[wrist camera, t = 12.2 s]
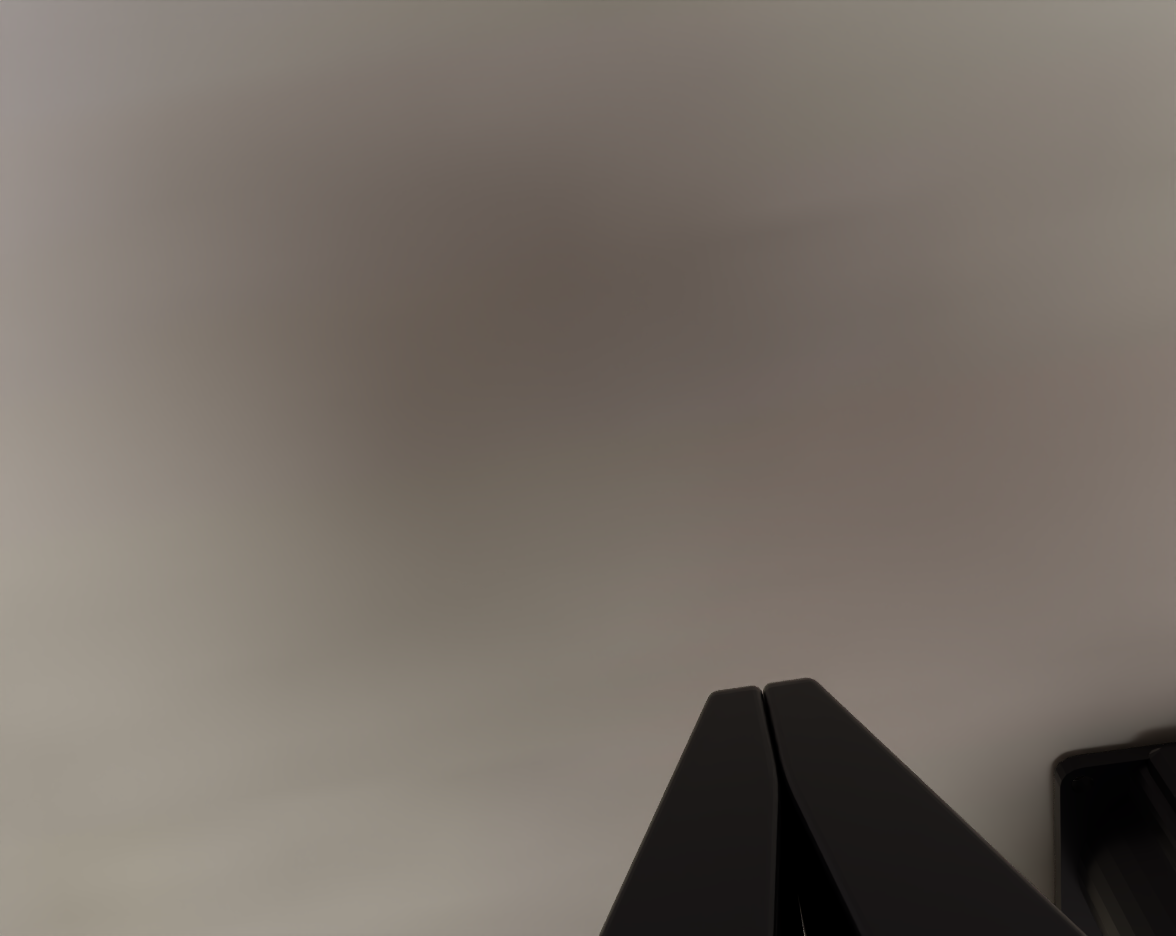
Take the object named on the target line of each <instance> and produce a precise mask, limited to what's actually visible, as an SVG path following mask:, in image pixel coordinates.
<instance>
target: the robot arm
mask: <svg viewBox="0 0 1176 936" xmlns="http://www.w3.org/2000/svg"><path fill="white" fill-rule="evenodd" d="M1080 776H1084V777H1083V778H1082V779H1080V780H1077V781H1073V780H1074V779H1076V778H1077V777H1080ZM1054 844H1055V905H1054V904H1053V903H1052V902H1051V901H1050V900H1049V899H1048V898H1046V897H1045V896H1044V895H1043V894H1042V893H1041V892H1040V891H1039V890H1038V889H1037V888H1036V887H1035V886H1034V885H1033V884H1032V883H1031V882H1029V881H1028V880H1027V879H1026V878H1025V877H1024V876H1023V875H1022V874H1021V873H1020V872H1019V871H1018V870H1017V869H1016V868H1015V867H1014V866H1012V865H1011V864H1010V863H1009V862H1008V861H1007V860H1006V859H1005V858H1004V857H1003V856H1002V855H1001V854H1000V853H999V852H998V851H997V850H995V849H994V848H993V847H992V846H991V845H990V844H989V843H988V842H987V841H986V840H985V839H984V838H983V837H982V836H981V835H979V834H978V833H977V832H976V831H975V830H974V829H973V828H972V827H971V826H970V825H969V824H968V823H967V822H966V821H965V820H964V819H962V818H961V817H960V816H959V815H958V814H957V813H956V812H955V811H954V810H953V809H952V808H951V807H950V806H949V805H948V804H947V803H945V802H944V801H943V800H942V799H941V798H940V797H939V796H938V795H937V794H936V793H935V792H934V791H933V790H932V789H931V788H930V787H928V786H927V785H926V784H925V783H924V782H923V781H922V780H921V779H920V778H919V777H918V776H917V775H916V774H915V773H914V772H913V771H911V770H910V769H909V768H908V767H907V766H906V765H905V764H904V763H903V762H902V761H901V760H900V759H899V758H898V757H897V756H896V755H894V754H893V753H892V752H891V751H890V750H889V749H888V748H887V747H886V746H885V745H884V744H883V743H882V742H881V741H880V740H879V739H877V738H876V737H875V736H874V735H873V734H872V733H871V732H870V731H869V730H868V729H867V728H866V727H865V726H864V725H863V724H862V723H860V722H859V721H858V720H857V719H856V718H855V717H854V716H853V715H852V714H851V713H850V712H849V711H848V710H847V709H846V708H844V707H843V706H842V705H841V704H840V703H839V702H838V701H837V700H836V699H835V698H834V697H833V696H832V695H831V694H830V693H829V692H827V691H826V690H825V689H824V688H823V687H822V686H821V685H820V684H819V683H818V682H817V681H816V680H814V679H811V678H801V679H794V680H787V681H780V682H773V683H769V684H767V685H766V686H765V687H764V690H763V694H762V691H761V690H760V689H759V687H756V686H746V687H739V688H732V689H725V690H718V691H715V692H713V693H711V694H710V695H709V697H708V699H707V701H706V703H705V705H704V707H703V710H702V712H701V714H700V716H699V718H698V720H697V723H696V725H695V727H694V729H693V731H692V734H691V736H690V738H689V740H688V742H687V744H686V747H685V749H684V751H683V753H682V755H681V758H680V760H679V762H678V764H677V766H676V768H675V771H674V773H673V775H672V777H671V779H670V782H669V784H668V786H667V788H666V790H665V792H664V795H663V797H662V799H661V801H660V803H659V806H658V808H657V810H656V812H655V814H654V816H653V819H652V821H651V823H650V825H649V827H648V830H647V832H646V834H645V836H644V838H643V840H642V843H641V845H640V847H639V849H638V851H637V854H636V856H635V858H634V860H633V862H632V864H631V867H630V869H629V871H628V873H627V875H626V878H625V880H624V882H623V884H622V886H621V888H620V891H619V893H618V895H617V897H616V899H615V902H614V904H613V906H612V908H611V910H610V912H609V915H608V917H607V919H606V921H605V923H604V926H603V928H602V930H601V932H600V934H599V936H804V933H805V936H1176V742H1174V743H1167V744H1160V745H1152V746H1145V747H1137V748H1130V749H1123V750H1115V751H1108V752H1100V753H1093V754H1085V755H1078V756H1073V757H1070V758H1067V759H1065V760H1064V761H1062V762H1060V763H1059V765H1058V766H1057V767H1056V768H1055V772H1054ZM802 922H803V924H802ZM803 928H804V931H803Z"/></svg>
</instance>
